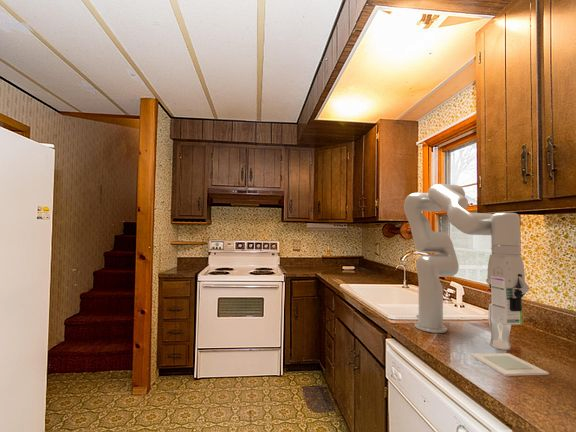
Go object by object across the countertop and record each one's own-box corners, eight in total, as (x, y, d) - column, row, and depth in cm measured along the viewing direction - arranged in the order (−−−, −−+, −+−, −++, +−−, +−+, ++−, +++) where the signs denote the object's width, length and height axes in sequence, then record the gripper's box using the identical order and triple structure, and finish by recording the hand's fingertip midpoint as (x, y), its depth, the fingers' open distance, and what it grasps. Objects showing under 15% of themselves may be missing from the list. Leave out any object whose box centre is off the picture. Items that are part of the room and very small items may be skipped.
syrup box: (506, 325, 91) (505, 277, 92) (491, 319, 97) (490, 274, 98) (523, 325, 92) (522, 277, 93) (507, 319, 98) (506, 274, 99)
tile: (470, 355, 100) (470, 353, 100) (508, 355, 102) (508, 352, 102) (505, 375, 86) (505, 373, 86) (548, 374, 88) (548, 371, 88)
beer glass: (489, 342, 114) (489, 302, 115) (512, 346, 109) (511, 305, 110) (487, 347, 108) (487, 305, 109) (511, 352, 104) (510, 308, 105)
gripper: (475, 249, 104) (475, 301, 103) (518, 252, 87) (519, 315, 86) (495, 249, 105) (495, 301, 104) (541, 253, 88) (543, 315, 87)
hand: (506, 307), depth 95 cm, fingers closed on syrup box, 5 cm apart
